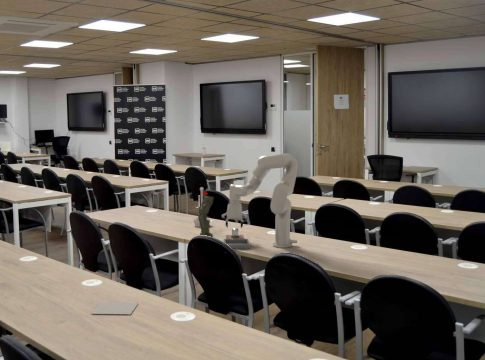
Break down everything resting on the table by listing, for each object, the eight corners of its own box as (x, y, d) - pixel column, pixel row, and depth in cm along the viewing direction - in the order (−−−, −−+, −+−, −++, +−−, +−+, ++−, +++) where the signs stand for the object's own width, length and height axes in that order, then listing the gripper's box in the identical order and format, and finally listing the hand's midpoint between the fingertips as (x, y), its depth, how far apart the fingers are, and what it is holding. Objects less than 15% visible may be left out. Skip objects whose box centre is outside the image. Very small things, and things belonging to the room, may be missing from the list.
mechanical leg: (200, 239, 355) (206, 195, 357) (192, 237, 359) (198, 194, 361) (213, 240, 366) (219, 197, 368) (205, 238, 370) (211, 196, 372)
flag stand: (196, 227, 396) (195, 188, 392) (191, 224, 408) (191, 186, 404) (212, 226, 400) (212, 187, 397) (207, 223, 412) (207, 185, 409)
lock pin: (238, 239, 357) (238, 228, 356) (238, 241, 353) (238, 229, 352) (231, 239, 357) (231, 228, 356) (232, 241, 353) (232, 229, 352)
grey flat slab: (124, 324, 210) (124, 322, 210) (63, 323, 211) (63, 322, 211) (138, 304, 233) (138, 302, 233) (83, 303, 234) (83, 301, 234)
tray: (247, 243, 347) (247, 238, 346) (249, 249, 331) (249, 244, 330) (223, 243, 346) (223, 239, 345) (224, 249, 330) (224, 244, 329)
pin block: (243, 238, 361) (243, 234, 361) (244, 242, 349) (244, 238, 349) (226, 238, 361) (226, 234, 360) (226, 242, 349) (226, 238, 348)
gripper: (247, 201, 356) (246, 226, 359) (221, 201, 355) (221, 225, 357) (248, 203, 349) (247, 228, 351) (222, 203, 348) (221, 228, 350)
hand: (234, 227), depth 354 cm, fingers open, 9 cm apart
